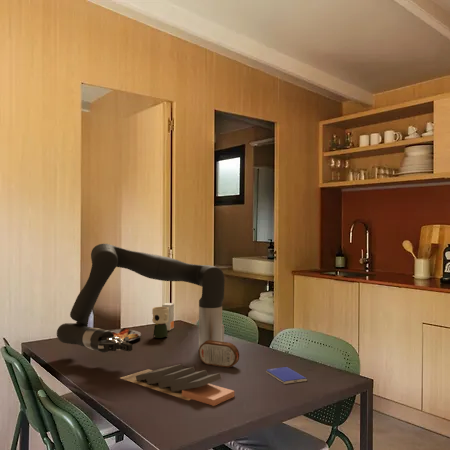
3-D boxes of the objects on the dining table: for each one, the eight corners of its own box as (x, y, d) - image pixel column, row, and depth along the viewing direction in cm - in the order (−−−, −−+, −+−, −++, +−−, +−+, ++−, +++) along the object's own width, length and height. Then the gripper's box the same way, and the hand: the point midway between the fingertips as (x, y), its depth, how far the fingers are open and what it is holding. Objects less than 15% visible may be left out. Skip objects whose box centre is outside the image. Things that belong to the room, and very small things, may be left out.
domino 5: (181, 390, 134) (213, 400, 126) (203, 381, 141) (234, 390, 133) (181, 395, 134) (213, 406, 126) (202, 387, 141) (234, 396, 133)
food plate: (137, 331, 218) (137, 324, 217) (145, 344, 195) (145, 336, 195) (81, 337, 210) (81, 329, 210) (82, 351, 188) (82, 342, 187)
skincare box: (170, 330, 220) (170, 305, 220) (161, 330, 221) (161, 304, 221) (174, 327, 226) (174, 303, 226) (165, 327, 227) (165, 302, 227)
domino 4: (170, 386, 137) (199, 380, 130) (191, 378, 144) (220, 372, 137) (171, 391, 137) (200, 386, 129) (192, 383, 144) (221, 378, 136)
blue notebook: (266, 369, 158) (284, 380, 147) (287, 366, 161) (306, 377, 150) (266, 373, 158) (284, 385, 147) (287, 371, 161) (306, 382, 150)
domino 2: (146, 379, 144) (172, 374, 136) (167, 372, 151) (193, 366, 143) (147, 384, 143) (173, 379, 136) (168, 377, 150) (195, 372, 143)
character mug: (147, 336, 209) (147, 307, 209) (161, 334, 213) (161, 305, 213) (159, 341, 200) (159, 310, 200) (174, 338, 205) (174, 308, 205)
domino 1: (135, 375, 147) (160, 370, 140) (157, 369, 154) (182, 363, 147) (136, 381, 146) (161, 376, 139) (158, 374, 153) (183, 369, 146)
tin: (239, 367, 164) (239, 343, 164) (236, 369, 161) (236, 345, 161) (201, 361, 170) (201, 338, 170) (197, 364, 168) (197, 340, 168)
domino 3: (158, 382, 140) (185, 377, 133) (179, 375, 147) (206, 369, 140) (159, 388, 140) (186, 383, 133) (180, 380, 147) (207, 375, 140)
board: (119, 380, 149) (119, 378, 149) (148, 371, 159) (148, 369, 159) (188, 403, 130) (188, 400, 130) (216, 391, 140) (216, 388, 140)
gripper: (113, 346, 170) (145, 355, 159) (82, 354, 160) (114, 363, 149) (113, 326, 170) (146, 333, 160) (82, 332, 160) (114, 340, 149)
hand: (130, 347), depth 154 cm, fingers closed
